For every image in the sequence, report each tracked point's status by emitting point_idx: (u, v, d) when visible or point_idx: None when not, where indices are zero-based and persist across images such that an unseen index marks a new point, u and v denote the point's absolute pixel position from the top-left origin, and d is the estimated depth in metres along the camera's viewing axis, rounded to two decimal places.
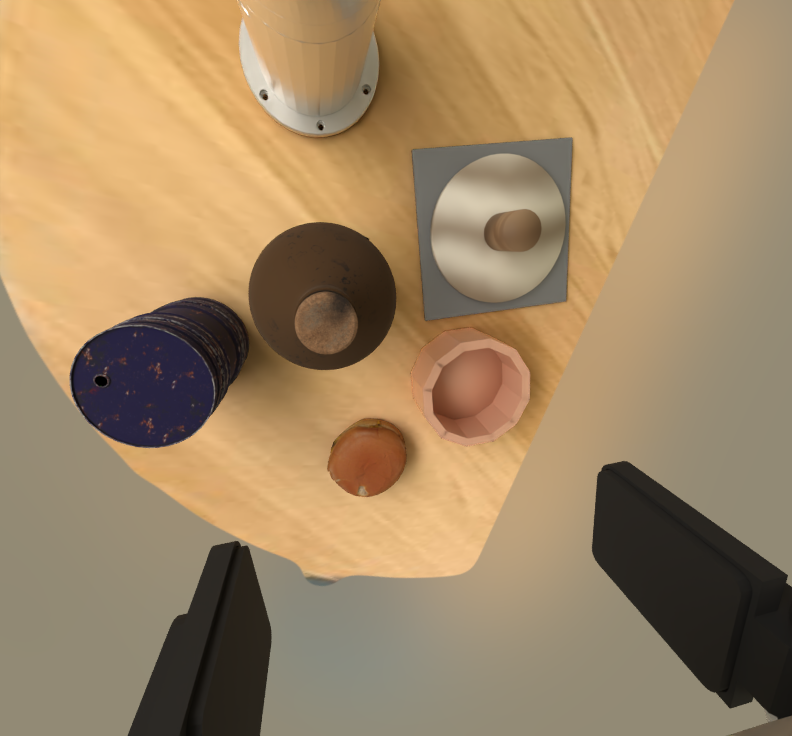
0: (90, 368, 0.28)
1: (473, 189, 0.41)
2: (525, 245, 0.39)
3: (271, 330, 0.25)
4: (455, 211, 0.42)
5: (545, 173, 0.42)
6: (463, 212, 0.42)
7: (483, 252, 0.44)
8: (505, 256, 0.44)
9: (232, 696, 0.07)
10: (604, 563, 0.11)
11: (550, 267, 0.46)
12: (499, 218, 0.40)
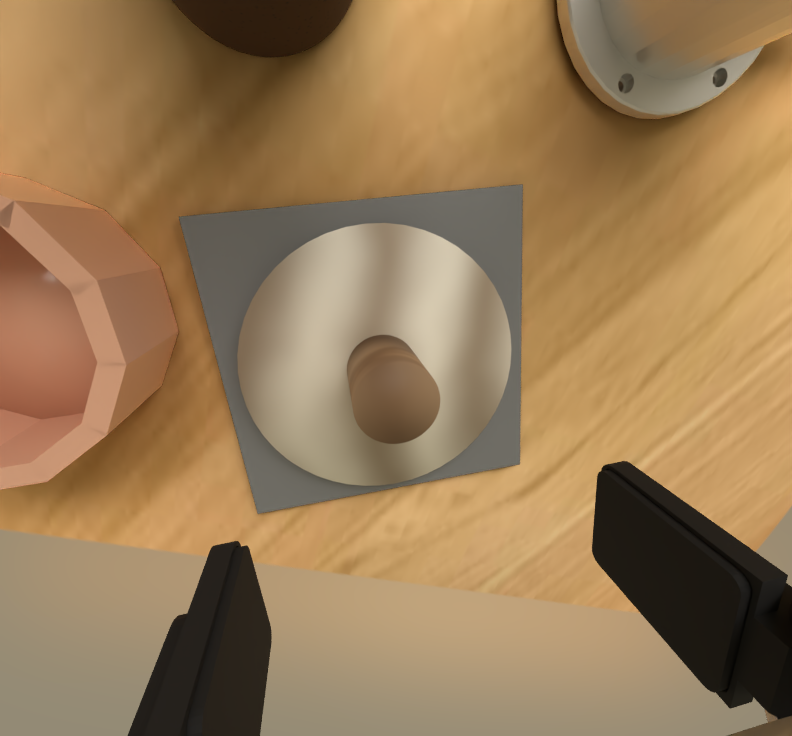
0: None
1: (457, 305, 0.22)
2: (366, 416, 0.18)
3: None
4: (419, 271, 0.21)
5: (477, 432, 0.25)
6: (417, 288, 0.21)
7: (343, 338, 0.21)
8: (336, 383, 0.22)
9: (232, 696, 0.07)
10: (604, 563, 0.11)
11: (320, 473, 0.24)
12: (414, 355, 0.19)
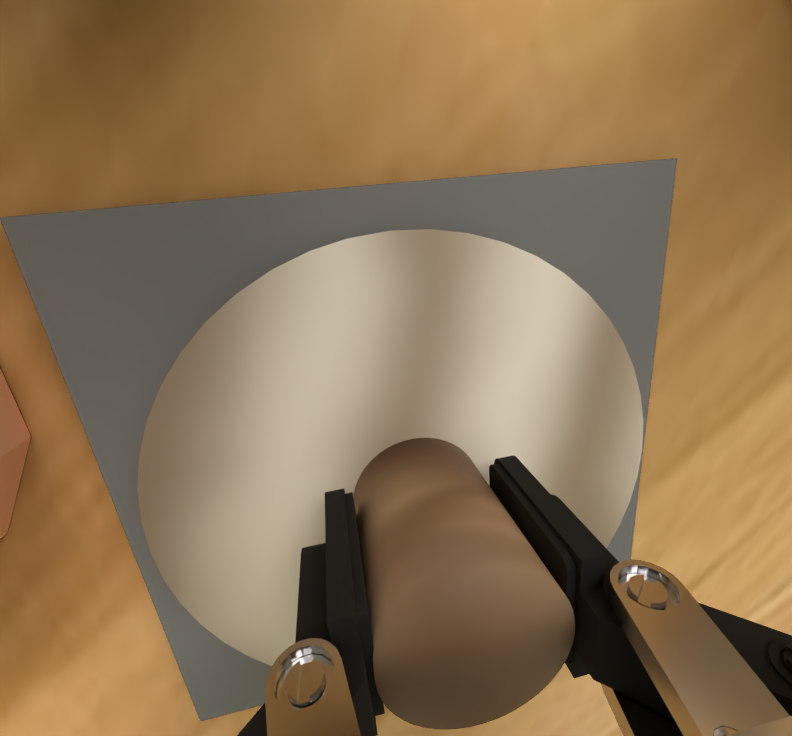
0: None
1: (556, 380, 0.12)
2: (406, 686, 0.07)
3: None
4: (492, 321, 0.11)
5: None
6: (487, 353, 0.11)
7: (346, 448, 0.11)
8: None
9: (367, 602, 0.08)
10: None
11: None
12: (497, 505, 0.09)
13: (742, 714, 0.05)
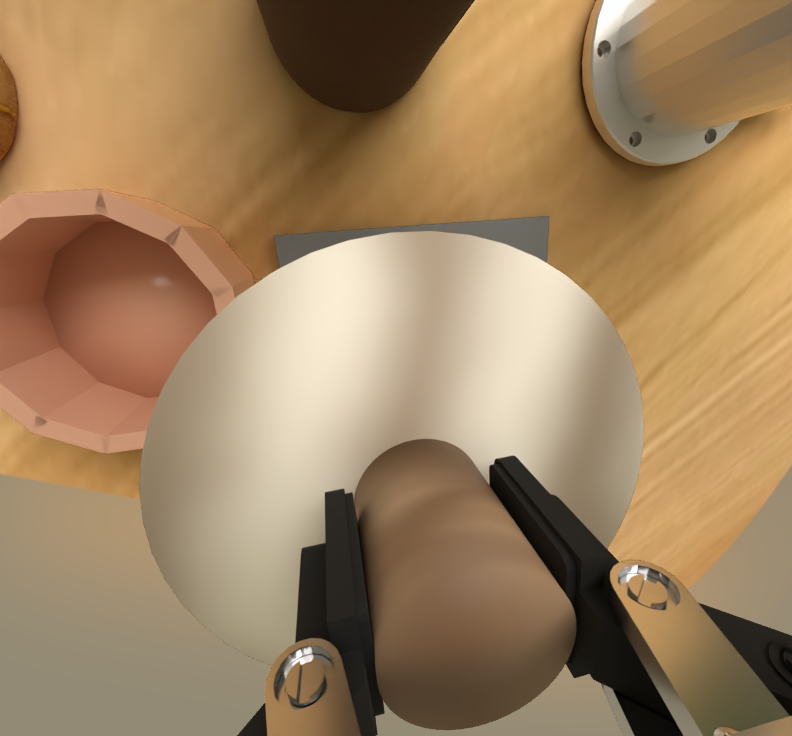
0: None
1: (557, 382, 0.12)
2: (408, 688, 0.07)
3: None
4: (493, 323, 0.11)
5: None
6: (488, 354, 0.11)
7: (347, 449, 0.11)
8: None
9: (367, 602, 0.08)
10: None
11: None
12: (498, 507, 0.09)
13: (742, 714, 0.05)
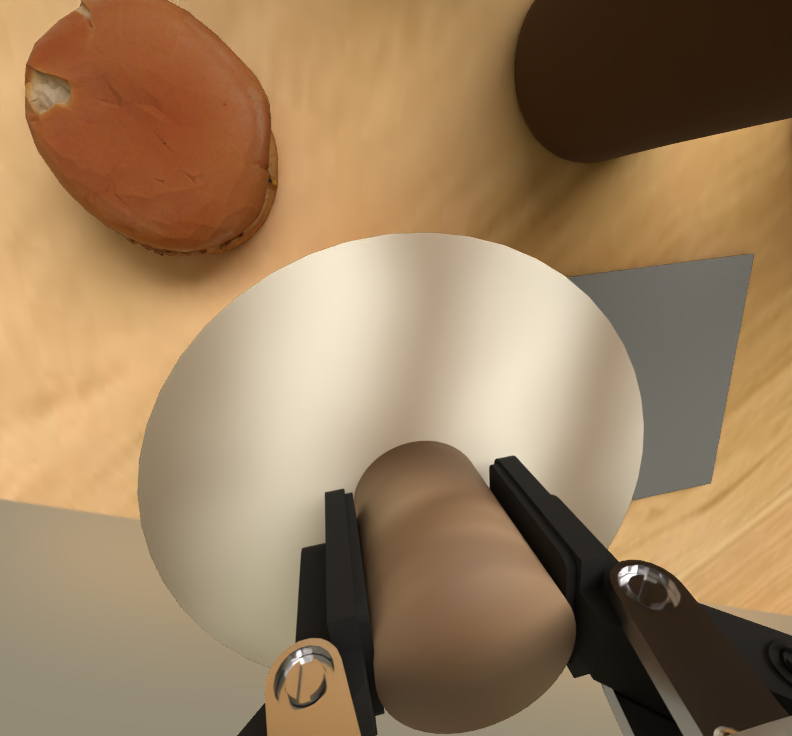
0: None
1: (557, 383, 0.12)
2: (407, 692, 0.07)
3: None
4: (492, 325, 0.11)
5: None
6: (487, 356, 0.11)
7: (346, 451, 0.11)
8: None
9: (367, 602, 0.08)
10: None
11: None
12: (497, 509, 0.09)
13: (741, 714, 0.05)
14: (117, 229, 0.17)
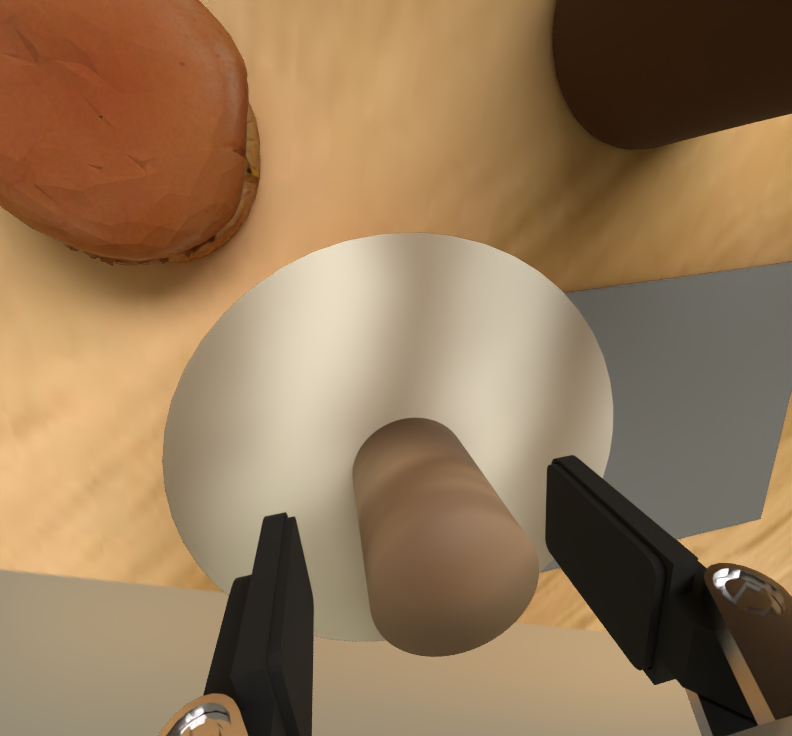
0: None
1: (533, 367, 0.13)
2: (396, 616, 0.09)
3: None
4: (475, 314, 0.12)
5: None
6: (471, 342, 0.13)
7: (346, 426, 0.13)
8: (335, 497, 0.13)
9: (295, 643, 0.08)
10: (554, 552, 0.11)
11: None
12: (477, 471, 0.11)
13: None
14: (45, 232, 0.13)
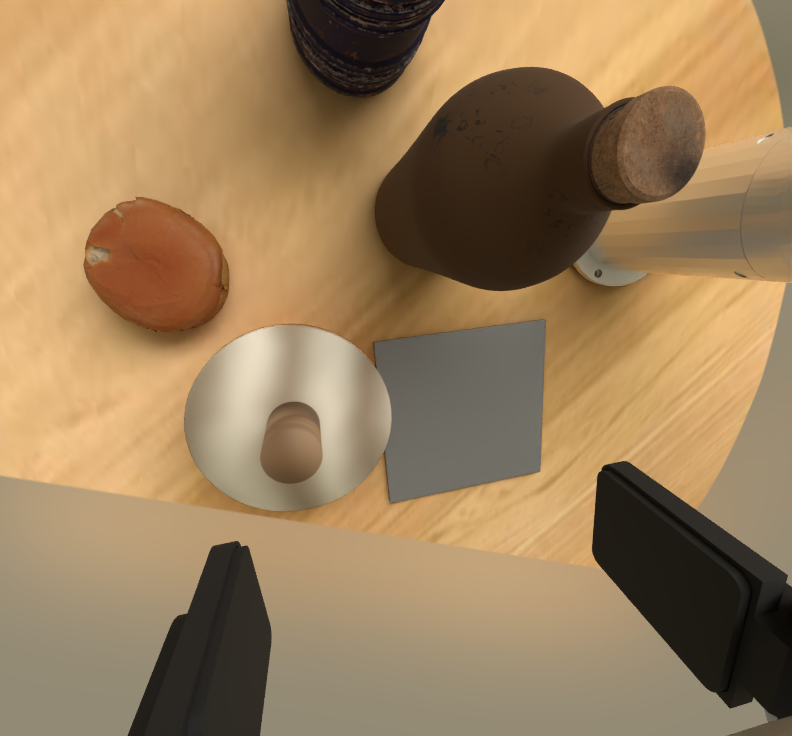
0: None
1: (347, 380, 0.30)
2: (270, 465, 0.26)
3: (525, 84, 0.16)
4: (317, 357, 0.29)
5: (370, 469, 0.33)
6: (317, 369, 0.30)
7: (263, 404, 0.30)
8: (259, 436, 0.30)
9: (232, 696, 0.07)
10: (604, 563, 0.11)
11: (249, 503, 0.32)
12: (309, 420, 0.28)
13: None
14: (131, 321, 0.30)
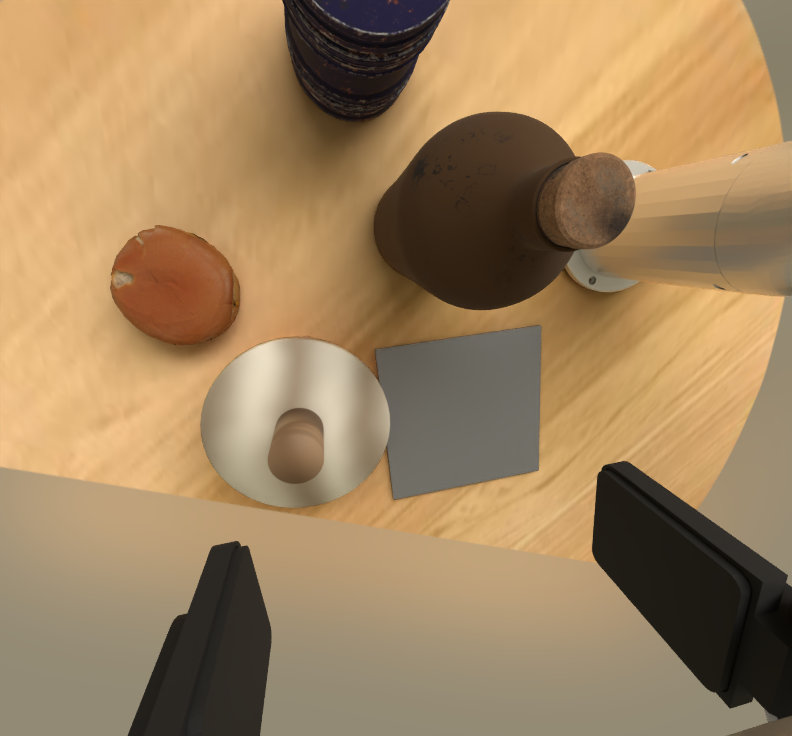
0: None
1: (348, 387, 0.33)
2: (276, 467, 0.28)
3: (491, 132, 0.18)
4: (320, 367, 0.32)
5: (371, 469, 0.36)
6: (319, 378, 0.32)
7: (271, 411, 0.32)
8: (268, 440, 0.33)
9: (232, 696, 0.07)
10: (604, 563, 0.11)
11: (260, 499, 0.35)
12: (312, 426, 0.30)
13: None
14: (152, 336, 0.33)
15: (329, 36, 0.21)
